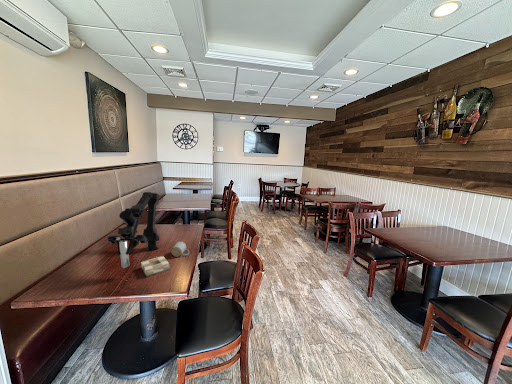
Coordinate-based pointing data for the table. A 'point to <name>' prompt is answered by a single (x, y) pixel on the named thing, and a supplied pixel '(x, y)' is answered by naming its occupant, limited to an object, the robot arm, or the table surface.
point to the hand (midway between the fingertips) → (123, 254)
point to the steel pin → (124, 253)
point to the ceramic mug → (179, 249)
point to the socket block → (155, 266)
